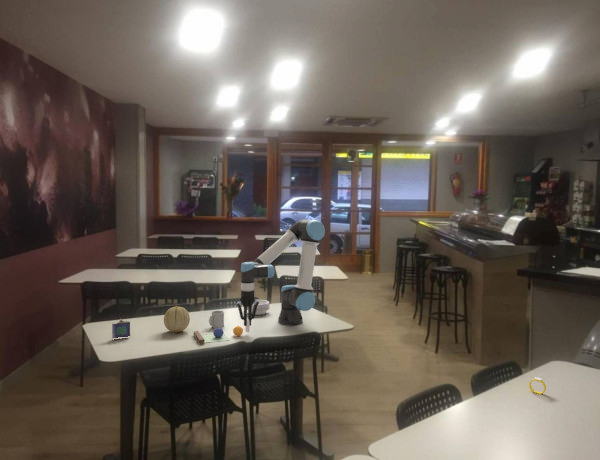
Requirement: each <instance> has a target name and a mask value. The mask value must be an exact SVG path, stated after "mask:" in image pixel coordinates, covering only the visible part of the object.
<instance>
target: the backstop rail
mask: <svg viewBox="0 0 600 460" xmlns="http://www.w3.org/2000/svg"><path fill="white" fill-rule="evenodd" d="M193 337H194V338H195V340H196V341H197V343H198V345H201V346H202V345H205V344H206V343H205V340H204V338H203V337H202V334H201V333H200V331H199V330H193Z"/></svg>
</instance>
